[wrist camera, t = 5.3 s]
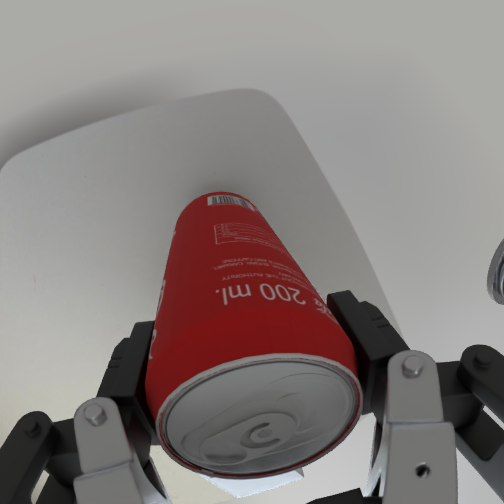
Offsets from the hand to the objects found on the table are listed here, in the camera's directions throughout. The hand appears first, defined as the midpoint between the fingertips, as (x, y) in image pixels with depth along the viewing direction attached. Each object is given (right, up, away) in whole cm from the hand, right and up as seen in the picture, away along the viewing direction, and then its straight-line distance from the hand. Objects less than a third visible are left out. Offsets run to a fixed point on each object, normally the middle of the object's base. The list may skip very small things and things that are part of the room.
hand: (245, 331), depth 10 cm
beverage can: (-1, +4, +10) cm, 11 cm away
